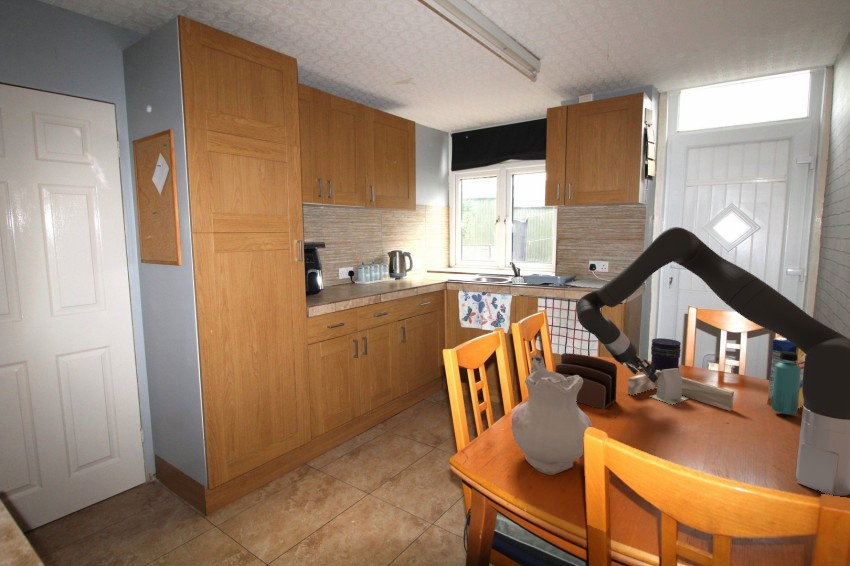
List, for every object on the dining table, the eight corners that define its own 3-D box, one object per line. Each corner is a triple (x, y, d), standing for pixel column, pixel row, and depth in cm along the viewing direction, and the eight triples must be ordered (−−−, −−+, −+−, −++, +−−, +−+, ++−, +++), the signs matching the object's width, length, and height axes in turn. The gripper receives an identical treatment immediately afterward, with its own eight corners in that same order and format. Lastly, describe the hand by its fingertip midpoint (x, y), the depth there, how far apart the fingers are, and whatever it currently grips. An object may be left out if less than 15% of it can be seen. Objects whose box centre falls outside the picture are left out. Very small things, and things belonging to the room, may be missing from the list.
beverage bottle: (802, 420, 130) (809, 355, 128) (777, 418, 132) (783, 354, 129) (789, 411, 137) (795, 349, 134) (765, 409, 138) (770, 348, 136)
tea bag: (681, 398, 147) (683, 370, 146) (664, 400, 145) (666, 371, 144) (672, 394, 150) (674, 366, 149) (656, 396, 149) (658, 368, 148)
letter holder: (561, 387, 159) (562, 350, 158) (616, 401, 146) (618, 361, 144) (547, 394, 152) (549, 355, 150) (604, 410, 138) (606, 368, 137)
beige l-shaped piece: (703, 421, 130) (705, 402, 129) (627, 394, 152) (628, 377, 151) (732, 409, 138) (733, 391, 138) (656, 385, 160) (657, 369, 159)
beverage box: (766, 404, 143) (773, 339, 140) (782, 397, 148) (788, 334, 145) (792, 411, 137) (799, 343, 134) (807, 404, 142) (814, 339, 139)
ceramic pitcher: (494, 448, 117) (489, 360, 113) (554, 430, 123) (551, 347, 120) (542, 494, 97) (538, 388, 93) (611, 470, 103) (610, 370, 99)
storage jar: (643, 376, 170) (645, 339, 168) (663, 373, 173) (665, 337, 171) (664, 384, 161) (666, 345, 159) (684, 382, 164) (687, 343, 162)
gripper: (641, 342, 134) (669, 374, 138) (610, 331, 147) (637, 361, 152) (626, 360, 133) (654, 392, 137) (596, 348, 147) (623, 377, 151)
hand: (645, 376), depth 144 cm, fingers open, 8 cm apart
